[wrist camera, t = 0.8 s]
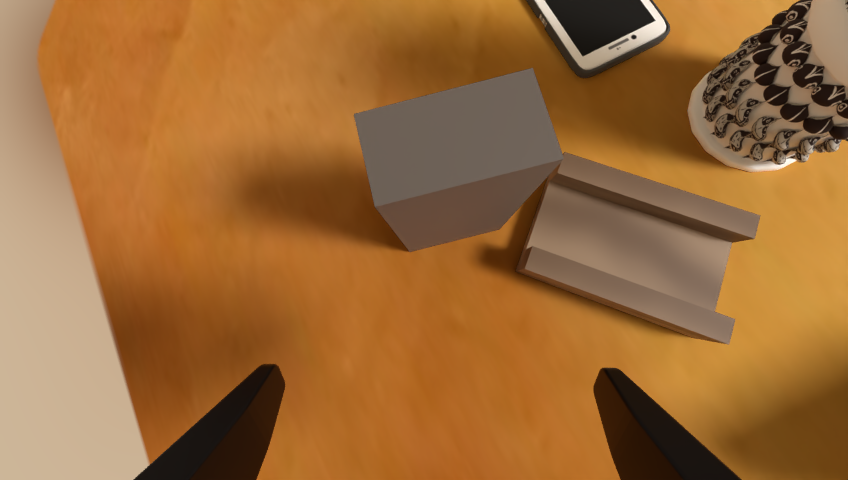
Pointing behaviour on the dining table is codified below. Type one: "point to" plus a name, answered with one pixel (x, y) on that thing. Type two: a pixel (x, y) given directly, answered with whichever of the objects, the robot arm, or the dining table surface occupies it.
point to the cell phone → (601, 30)
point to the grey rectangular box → (458, 158)
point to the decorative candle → (778, 91)
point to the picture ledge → (635, 246)
